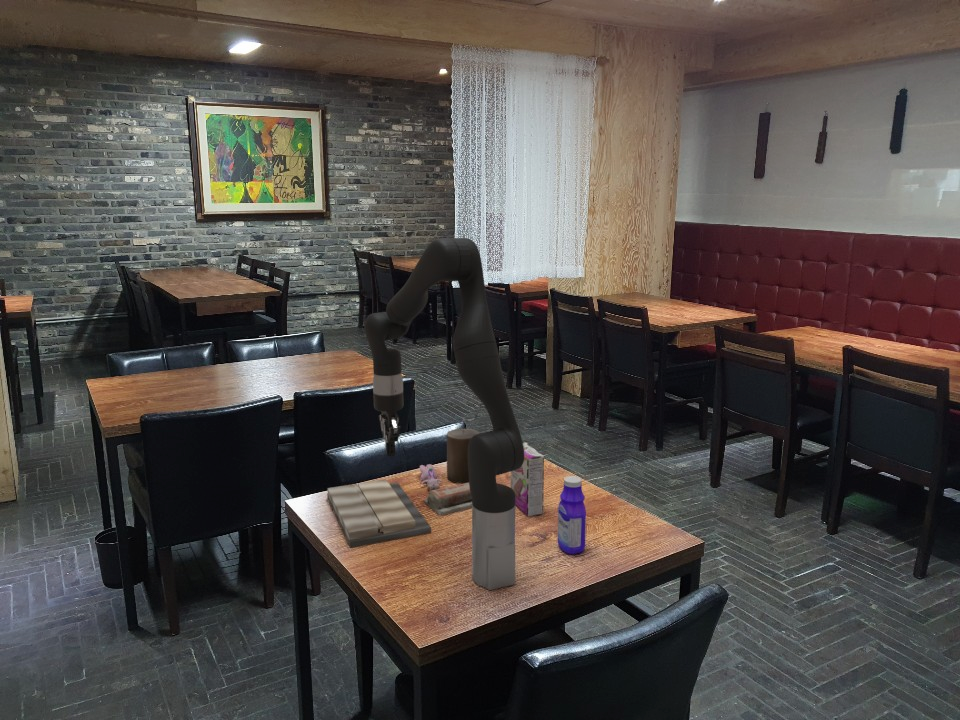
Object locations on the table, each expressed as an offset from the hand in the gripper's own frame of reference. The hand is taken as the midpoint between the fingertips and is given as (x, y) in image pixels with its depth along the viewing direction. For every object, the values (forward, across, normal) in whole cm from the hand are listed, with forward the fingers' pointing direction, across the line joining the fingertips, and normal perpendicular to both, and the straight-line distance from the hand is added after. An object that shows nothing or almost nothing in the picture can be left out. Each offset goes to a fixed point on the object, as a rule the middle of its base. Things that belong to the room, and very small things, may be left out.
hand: (390, 455), depth 179 cm
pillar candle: (+16, +15, -26) cm, 34 cm away
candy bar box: (+16, -11, -34) cm, 39 cm away
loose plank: (+14, 0, +2) cm, 15 cm away
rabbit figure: (+16, +15, -15) cm, 27 cm away
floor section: (+16, 0, +4) cm, 16 cm away
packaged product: (+17, -1, -19) cm, 25 cm away
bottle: (+16, -35, -34) cm, 51 cm away
